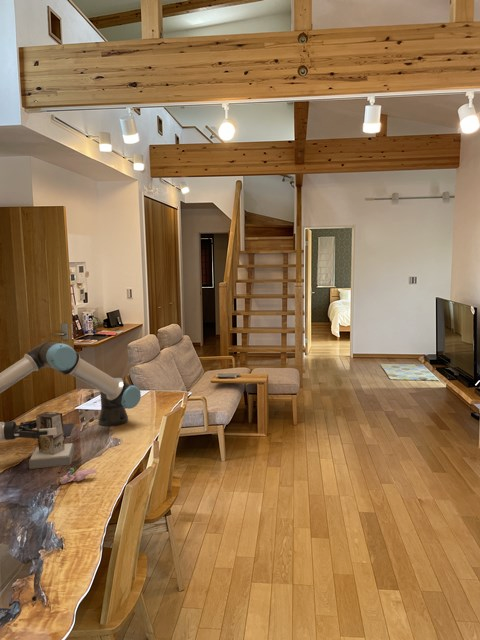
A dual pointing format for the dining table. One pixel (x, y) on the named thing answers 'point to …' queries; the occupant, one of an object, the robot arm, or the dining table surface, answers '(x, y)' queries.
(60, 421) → the coffee box
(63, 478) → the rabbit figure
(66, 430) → the notebook
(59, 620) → the dining table surface
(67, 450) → the pedestal
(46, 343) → the robot arm
